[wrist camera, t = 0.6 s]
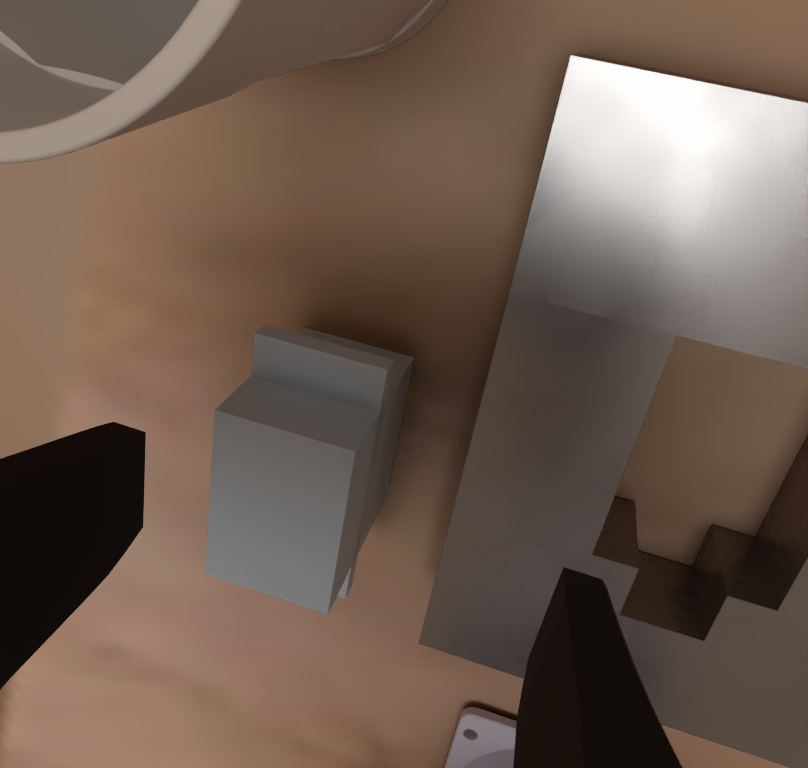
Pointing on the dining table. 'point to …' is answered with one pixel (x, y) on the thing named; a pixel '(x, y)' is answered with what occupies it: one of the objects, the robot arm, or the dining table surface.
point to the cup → (165, 58)
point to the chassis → (642, 398)
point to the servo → (303, 464)
